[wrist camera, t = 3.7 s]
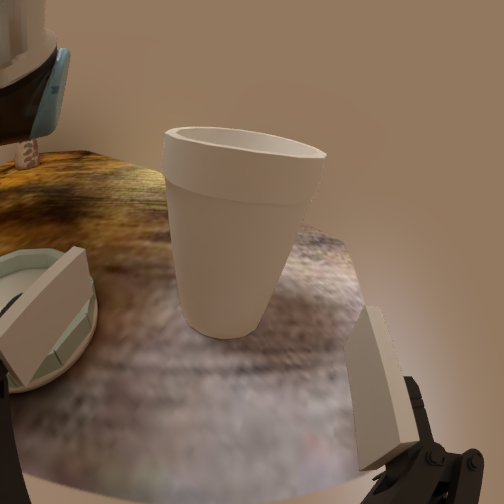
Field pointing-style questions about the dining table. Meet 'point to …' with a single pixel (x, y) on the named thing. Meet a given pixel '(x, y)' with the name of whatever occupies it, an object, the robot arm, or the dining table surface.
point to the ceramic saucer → (21, 287)
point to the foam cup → (234, 220)
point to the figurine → (27, 155)
